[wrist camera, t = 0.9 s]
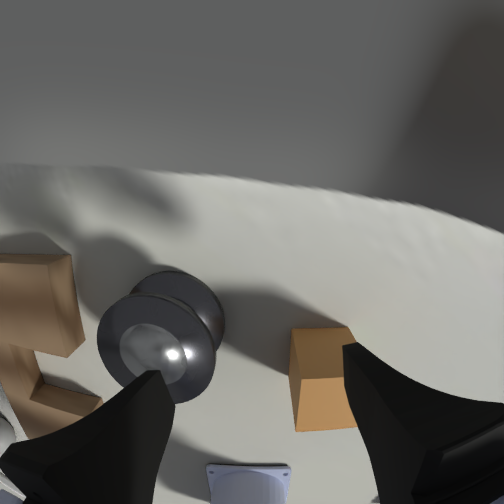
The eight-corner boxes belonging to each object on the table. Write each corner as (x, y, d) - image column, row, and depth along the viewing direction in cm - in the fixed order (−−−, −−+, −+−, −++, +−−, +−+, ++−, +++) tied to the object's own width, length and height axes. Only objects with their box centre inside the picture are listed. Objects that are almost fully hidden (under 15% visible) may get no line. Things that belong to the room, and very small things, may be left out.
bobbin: (226, 364, 21) (218, 408, 16) (136, 357, 21) (110, 395, 16) (223, 271, 20) (210, 299, 15) (123, 269, 20) (87, 293, 15)
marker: (50, 498, 31) (-7, 466, 31) (44, 497, 30) (-12, 464, 30) (48, 509, 29) (-9, 476, 29) (42, 508, 28) (-14, 474, 28)
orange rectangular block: (341, 373, 21) (361, 426, 15) (288, 375, 21) (295, 431, 15) (348, 327, 20) (374, 374, 14) (291, 328, 20) (301, 379, 14)
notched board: (119, 448, 24) (110, 467, 21) (40, 423, 24) (28, 438, 21) (70, 254, 20) (47, 264, 17) (-13, 253, 20) (-34, 261, 17)
